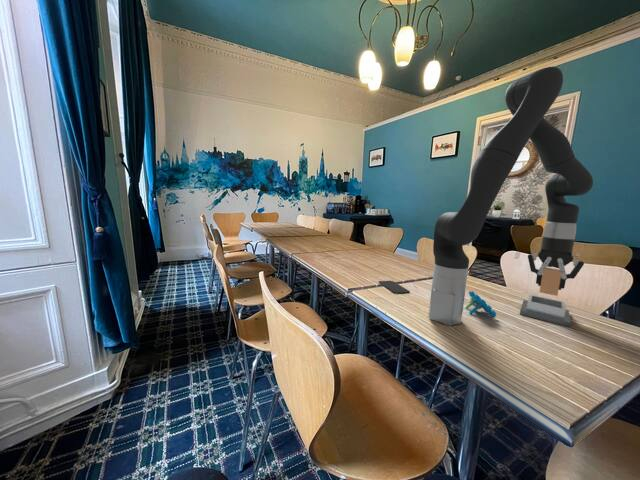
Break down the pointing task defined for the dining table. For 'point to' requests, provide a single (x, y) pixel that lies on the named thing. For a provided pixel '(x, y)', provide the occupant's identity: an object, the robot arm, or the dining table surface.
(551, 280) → the tan rectangular block
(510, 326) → the dining table surface
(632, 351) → the dining table surface
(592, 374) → the dining table surface
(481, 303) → the blue toy figure
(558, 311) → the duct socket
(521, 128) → the robot arm
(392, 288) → the phone
